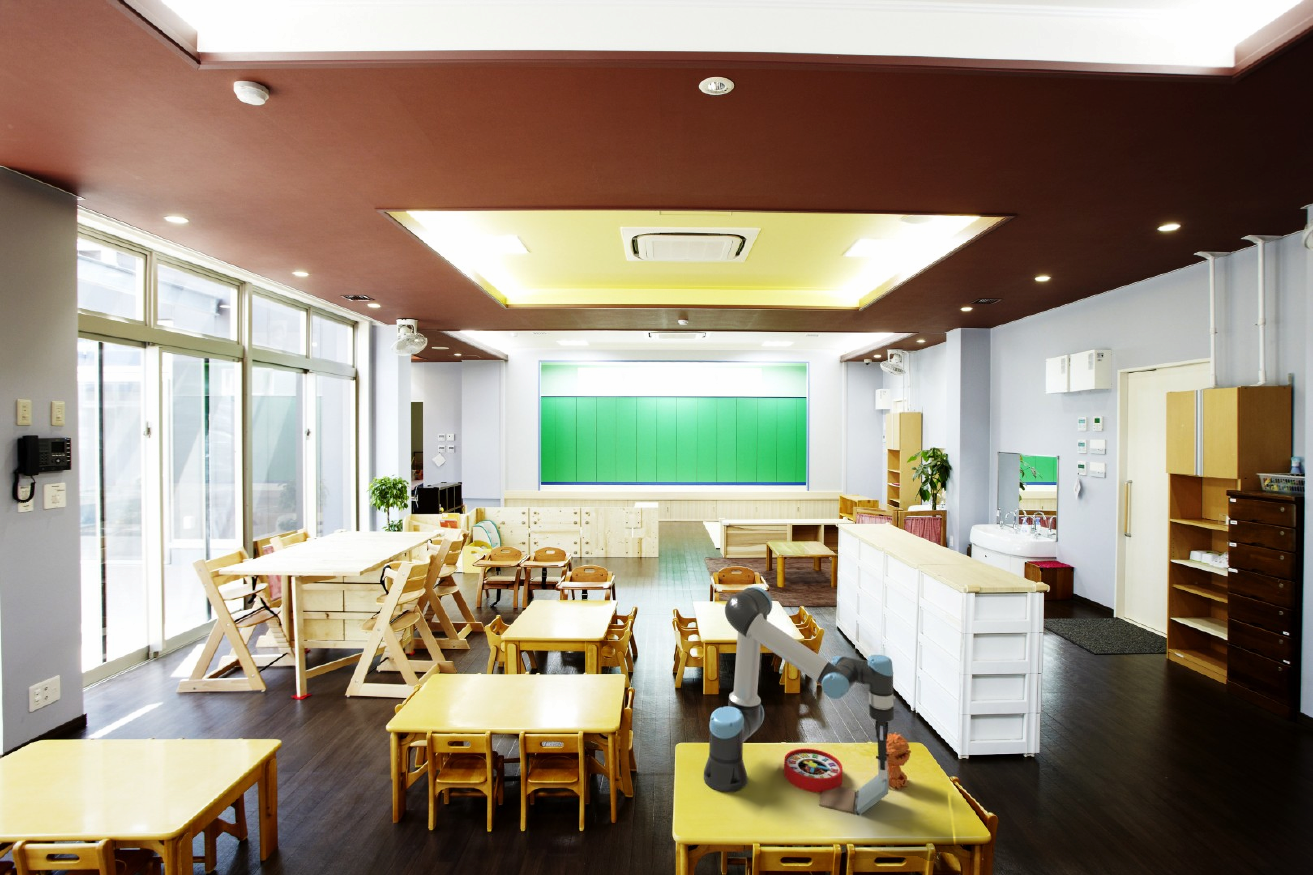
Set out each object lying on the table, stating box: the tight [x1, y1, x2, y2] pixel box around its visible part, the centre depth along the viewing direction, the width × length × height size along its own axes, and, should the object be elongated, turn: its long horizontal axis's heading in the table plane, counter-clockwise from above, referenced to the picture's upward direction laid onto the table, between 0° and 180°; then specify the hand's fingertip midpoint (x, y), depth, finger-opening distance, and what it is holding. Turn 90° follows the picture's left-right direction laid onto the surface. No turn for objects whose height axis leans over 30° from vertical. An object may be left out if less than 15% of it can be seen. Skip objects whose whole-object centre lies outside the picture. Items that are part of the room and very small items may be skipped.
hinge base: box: [818, 785, 860, 816], centre depth 207 cm, size 12×13×2 cm
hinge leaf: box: [854, 771, 890, 815], centre depth 203 cm, size 14×13×2 cm
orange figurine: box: [886, 731, 912, 790], centre depth 218 cm, size 11×11×18 cm
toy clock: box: [783, 748, 843, 794], centre depth 220 cm, size 20×6×20 cm
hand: (882, 777), depth 202 cm, fingers closed
